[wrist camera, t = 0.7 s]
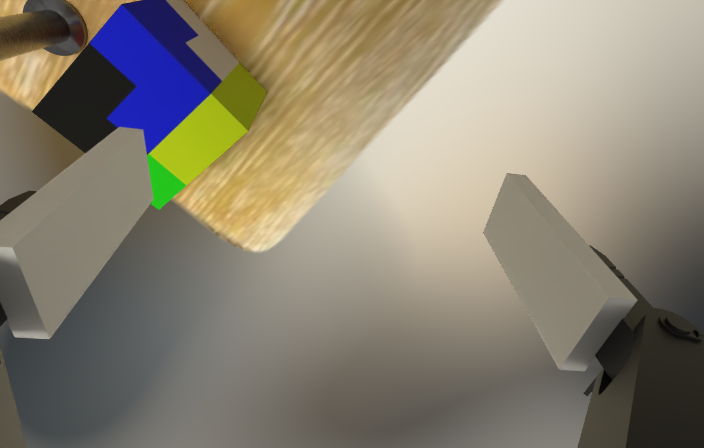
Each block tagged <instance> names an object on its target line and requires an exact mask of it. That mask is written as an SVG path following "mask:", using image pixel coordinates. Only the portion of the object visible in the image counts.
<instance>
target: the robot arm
mask: <svg viewBox="0 0 704 448" xmlns="http://www.w3.org/2000/svg"><path fill="white" fill-rule="evenodd" d="M152 201H153V193H152V186H151V179H150V172H149V166H148V159H147V152H146V145H145V139H144V132H143V130H142V129H134V128H126V127H118V128H117V129H116V130H115V131H113V132H112V133H111V134H110V135H108V136H107V137H106V138H104V139H103V140H102V141H101V142H99V143H98V144H97V145H96V146H94V147H93V148H92V149H90V150H89V151H88V152H87V153H85V154H84V155H83V156H82V157H80V158H79V159H78V160H76V161H75V162H74V163H73V164H72V165H70V166H69V167H68V168H66V169H65V170H64V171H63V172H62V173H60V174H59V175H58V176H56V177H55V178H54V179H52V180H51V181H50V182H49V183H47V184H46V185H45V186H43V187H42V188H41V189H40V190H39V191H37V192H36V191H28V192H26V193H23V194H21V195H18V196H16V197H13V198H11V199H8V200H7V201H6V202H4V203H3V204H2V205H0V326H1V325H2V324H3V323H4V322H5V321H6V320H7V322H8V324H9V326H10V328H11V330H12V332H13V335H14V337H25V338H39V339H50V338H51V336H52V335H53V334H54V332H55V331H56V330H57V328H58V327H59V326H60V324H61V323H62V321H63V320H64V319H65V318H66V316H67V315H68V313H69V312H70V311H71V309H72V308H73V307H74V305H75V304H76V303H77V301H78V300H79V299H80V297H81V296H82V295H83V293H84V292H85V291H86V289H87V288H88V286H89V285H90V284H91V283H92V281H93V280H94V278H95V277H96V276H97V275H98V273H99V272H100V270H101V269H102V268H103V266H104V265H105V264H106V262H107V261H108V260H109V258H110V257H111V256H112V254H113V253H114V252H115V250H116V249H117V248H118V246H119V245H120V244H121V242H122V241H123V240H124V238H125V237H126V235H127V234H128V233H129V231H130V230H131V229H132V227H133V226H134V225H135V223H136V222H137V220H138V219H139V218H140V216H141V215H142V214H143V213H144V211H145V210H146V209H147V207H148V206H149V204H150V203H151V202H152ZM483 233H484V235H485V237H486V238H487V240H488V242H489V244H490V246H491V247H492V249H493V251H494V252H495V255H496V256H497V258H498V260H499V262H500V264H501V266H502V267H503V269H504V271H505V273H506V274H507V276H508V278H509V280H510V282H511V284H512V285H513V287H514V289H515V291H516V293H517V294H518V296H519V298H520V300H521V302H522V303H523V305H524V307H525V309H526V310H527V312H528V314H529V316H530V318H531V320H532V321H533V323H534V325H535V327H536V329H537V330H538V332H539V334H540V336H541V338H542V340H543V341H544V343H545V345H546V347H547V349H548V350H549V352H550V354H551V356H552V358H553V359H554V361H555V363H556V365H557V367H558V368H559V370H574V371H585V370H586V369H587V367H588V366H589V365H590V363H591V362H592V361H593V359H594V358H595V357H596V358H597V359H598V361H599V362H600V364H601V365H602V367H603V369H602V370H601V372H600V373H599V374H598V376H597V377H596V378H595V379H594V381H593V382H592V383H591V384H590V386H589V387H588V388H587V390H586V391H585V392H584V394H585V395H586V396H588V395H589V394H590V393H591V392H592V396H591V399H590V403H589V407H588V411H587V415H586V418H585V422H584V426H583V429H582V433H581V437H580V441H579V444H578V448H704V335H703V334H702V333H701V331H700V330H699V329H698V328H697V327H696V326H694V325H693V324H692V323H691V322H689V321H688V320H686V319H685V318H683V317H681V316H679V315H677V314H675V313H673V312H670V311H667V310H663V309H657V308H655V309H654V308H653V307H652V306H651V305H650V304H649V303H648V302H647V301H646V299H644V297H643V296H642V295H641V294H640V293H639V292H638V291H637V290H636V289H635V288H634V286H633V285H632V284H631V283H630V282H629V281H628V280H627V279H624V276H623V274H622V273H621V272H620V271H619V270H616V267H615V266H614V265H613V264H612V263H611V261H609V259H608V258H607V257H606V256H605V255H603V254H602V253H600V252H599V251H598V250H596V249H595V248H593V247H592V246H589V245H588V244H587V243H586V242H585V241H584V240H583V239H582V237H581V236H580V235H579V234H578V233H577V232H576V231H575V230H574V228H573V227H572V226H571V225H570V224H569V223H568V222H567V221H566V220H565V219H564V217H563V216H562V215H561V214H560V213H559V212H558V211H557V210H556V208H555V207H554V206H553V205H552V204H551V203H550V202H549V201H548V200H547V198H546V197H545V196H544V195H543V194H542V193H541V192H540V191H539V190H538V189H537V188H536V186H535V185H534V184H533V183H532V182H531V181H530V179H528V177H527V176H526V175H518V174H509V173H507V174H506V177H505V179H504V182H503V184H502V187H501V189H500V192H499V194H498V197H497V199H496V202H495V204H494V207H493V209H492V212H491V215H490V217H489V219H488V222H487V224H486V227H485V229H484V232H483ZM0 448H27V446H26V442H25V438H24V434H23V431H22V427H21V423H20V419H19V415H18V412H17V408H16V404H15V400H14V397H13V393H12V389H11V385H10V382H9V378H8V374H7V370H6V366H5V363H4V359H3V355H2V351H1V348H0Z"/></svg>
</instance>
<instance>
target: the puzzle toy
mask: <svg viewBox="0 0 704 448" xmlns="http://www.w3.org/2000/svg"><path fill="white" fill-rule="evenodd" d="M266 94H267V92H266V91H265V89H264V88H263V87H262V86H261V85H260V84H259V83H258V82H257V81H256V80H255V78H254V77H253V76H252V75H251V74H250V73H249V72H248V71H247V70H246V69H245V68H244V66H243V65H242V64H241V63H240V62H239V61H238V60H237V59H236V58H235V57H234V56H233V54H232V53H231V52H230V51H229V50H228V49H227V48H226V47H225V46H224V45H223V44H222V42H221V41H220V40H219V39H218V38H217V37H216V36H215V35H214V34H213V33H212V32H211V30H210V29H209V28H208V27H207V26H206V25H205V24H204V23H203V22H202V21H201V19H200V18H199V17H198V16H197V15H196V14H195V13H194V12H193V11H192V10H191V9H190V7H189V6H188V5H187V4H186V3H185V2H184V1H183V0H141V1H136V2H131V3H125V4H121V5H120V7H119V8H118V9H117V10H116V11H115V13H114V14H113V15H112V16H111V17H110V19H109V20H108V21H107V22H106V23H105V25H104V26H103V27H102V28H101V29H100V31H99V32H98V33H97V34H96V35H95V37H94V38H93V39H92V40H91V41H90V43H89V44H88V45H87V46H86V47H85V49H84V50H83V51H82V52H81V53H80V55H79V56H78V57H77V58H76V59H75V61H74V62H73V63H72V64H71V65H70V67H69V68H68V69H67V70H66V71H65V73H64V74H63V75H62V76H61V77H60V79H59V80H58V81H57V82H56V83H55V85H54V86H53V87H52V88H51V89H50V91H49V92H48V93H47V94H46V95H45V97H44V98H43V99H42V100H41V101H40V103H39V104H38V105H37V106H36V107H35V108H34V110H33V111H32V112H33V113H34V114H35V115H37V116H38V117H39V118H41V119H42V120H43V121H45V122H46V123H47V124H48V125H50V126H51V127H52V128H54V129H55V130H56V131H58V132H59V133H60V134H61V135H63V136H64V137H65V138H66V139H68V140H69V141H70V142H72V143H73V144H74V145H76V146H77V147H78V148H79V149H81V150H82V151H83V152H85V153H87V152H88V151H89V150H90V149H92V148H93V147H94V146H96V145H97V144H98V143H99V142H101V141H102V140H103V139H104V138H106V137H107V136H108V135H110V134H111V133H112V132H113V131H115V130H116V129H117V128H118V127H126V128H134V129H142V130H143V132H144V139H145V145H146V152H147V159H148V166H149V172H150V179H151V186H152V193H153V201H152V202H151V203H150V204H152V205H153V206H154V207H156V208H157V209H158V210H159V209H160V208H161V207H162V206H163V205H165V204H166V203H167V202H168V201H169V200H171V199H172V198H173V197H174V196H175V195H176V194H177V193H178V192H180V191H181V190H182V189H183V188H184V187H185V186H186V185H188V184H189V183H190V182H191V181H192V180H193V179H194V178H195V177H197V176H198V175H199V174H200V173H201V172H202V171H203V170H205V169H206V168H207V167H208V166H209V165H210V164H211V163H213V162H214V161H215V160H216V159H217V158H218V157H219V156H220V155H222V154H223V153H224V152H225V151H226V150H227V149H228V148H230V147H231V146H232V145H233V144H234V143H235V142H236V141H238V140H239V139H240V138H241V137H242V136H243V135H244V134H245V133H247V132H248V130H249V128H250V126H251V124H252V122H253V120H254V118H255V116H256V114H257V112H258V110H259V108H260V106H261V104H262V102H263V100H264V98H265V96H266Z"/></svg>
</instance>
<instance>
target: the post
mask: <svg viewBox="0 0 704 448" xmlns="http://www.w3.org/2000/svg"><path fill="white" fill-rule="evenodd" d="M86 42H87V29H86V25H85V22H84V20H83V18H82V17H81V15H80V14H79V12H78V11H77V10H76V9H75V8H74V7H73V6H72V5H71V4H70V3H69V2H67V1H66V0H28V1H27V2H26V4H25V6H24V9H23V13H22V14H16V15H10V16H3V17H0V61H1V60H4V59H8V58H11V57H15V56H18V55H21V54H25V53H28V52H32V51H35V50H38V49H42V48H44V49H45V50H47V51H49V52H51V53H53V54H56V55H61V56H68V55H72V54H75V53H77V52H79V51H81V50H82V49H83V48H84V46H85V44H86Z"/></svg>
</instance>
